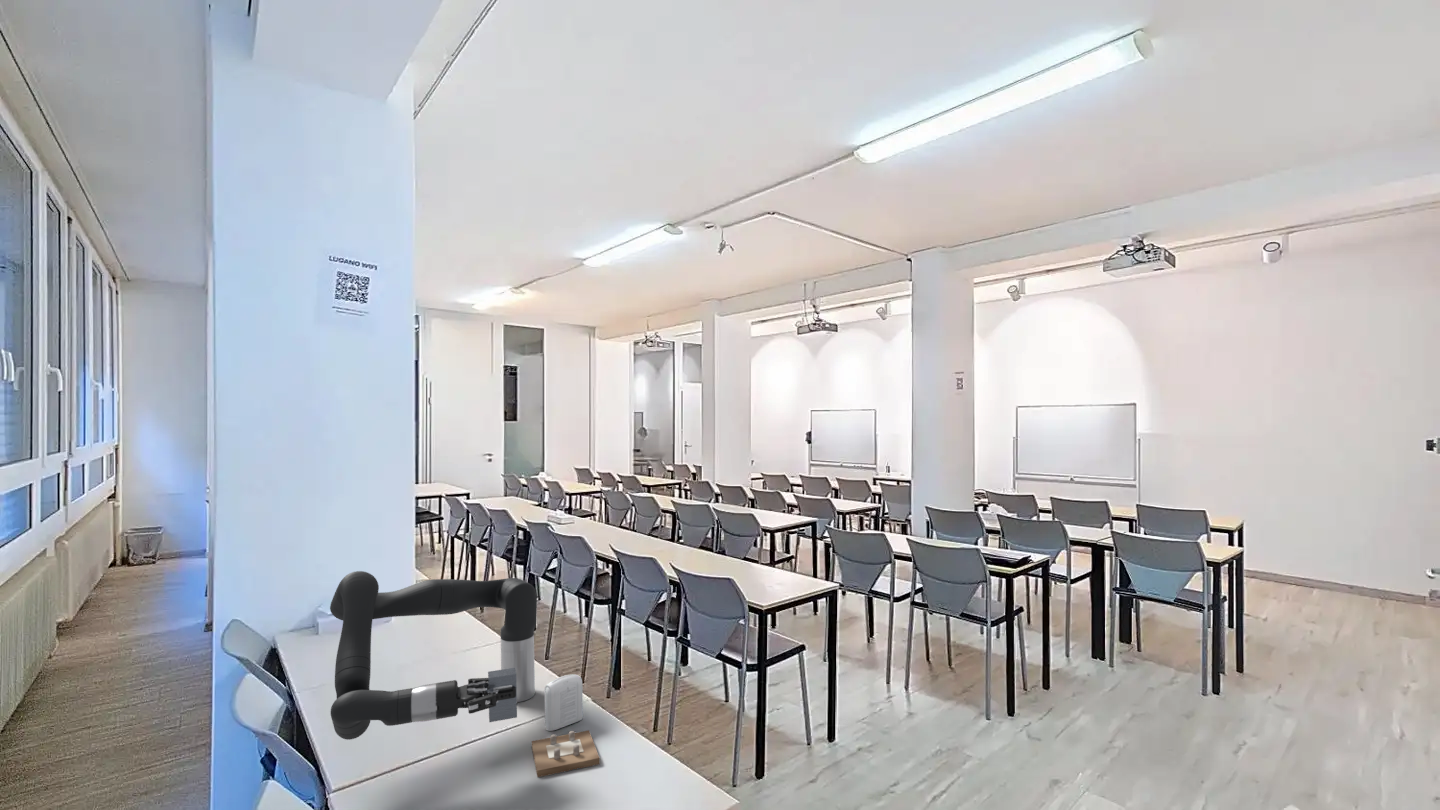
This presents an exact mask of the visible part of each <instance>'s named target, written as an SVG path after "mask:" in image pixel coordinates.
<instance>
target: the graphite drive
mask: <svg viewBox="0 0 1440 810" xmlns="http://www.w3.org/2000/svg"><path fill="white" fill-rule="evenodd" d="M487 678H488V690H498V692H499V689H506V688H512V687H515V688H516V697H515V698H510V699H504V700H499V702H497V703H496V706H494V707H491V708H488V719H489V720H488V722H489V723H494V722H498V721H499V722H500V721H505V720H510V719H516V718H518V704H517V703H518V702H517V687H516V670H515V668H509V669H502V670H501V669H497V670H491V671H488V672H487Z"/></svg>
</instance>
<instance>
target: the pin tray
mask: <svg viewBox="0 0 1440 810" xmlns="http://www.w3.org/2000/svg"><path fill="white" fill-rule="evenodd" d="M531 750H532V755H533V761H534V766H535V772H536V777H537V778H541V777H545V776H550V775H555V773H556V774H560V772H561V773H564V771H565V772H569V770H570V771H574V770H573V769H575V770H578V769H577V768H580V769H583V768H588V766H589V767H594V766H598V765H600V760H601V759H600V756H599V753H598V751H597V748H596V745H595V742H594V739H593V738H592V735H591V731H590V730H589V729H587V730H584V731H583V730H582V731H579V732H575V731H574V730H570V731H568V733H567V734H562V735H557V734H551V735H550V736H549V737H545V738H540V739H535V740H531ZM593 765H594V766H593Z"/></svg>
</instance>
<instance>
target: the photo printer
mask: <svg viewBox="0 0 1440 810" xmlns="http://www.w3.org/2000/svg"><path fill="white" fill-rule="evenodd" d="M583 703H584V702H583V680H582V677H581V676H580V675H578V674H575V673H574V674H572V673H571V674H565V675H562V676H559V677H557V678H555V679H553V680H552V681H550V682H548V683H547V684H546V685H545V687H544V727H545V730H546V731H548V732H553V731H555V730H559V729H562V728H564V727H567V726H570V725H571V724H575V723H577V722H580V721H581V720H583V717H584V716H583V712H584V711H583Z"/></svg>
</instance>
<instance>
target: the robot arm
mask: <svg viewBox="0 0 1440 810" xmlns="http://www.w3.org/2000/svg"><path fill="white" fill-rule="evenodd" d="M379 586H380V585H379V582H378V580H377V578H376V577H375V576H374V575H373V574H371V573H369V572H367V571H362V570H357V571H352V572H349V573H348V574H346V575H345V576H344V577H343V578H342V579H341V580H340V582H339V583H338V584H337V588H336V590H335V592H334V594H333V597H332V600H331V602H330V606H329V610H330V613H331V614H332V616H333V617H334V618H336V619H338V620H341V621H342V628H341V633H340V637H339V641H338V647H337V651H336V659H335V667H334V668H335V669H334V689H335V693H336V699H335V700H334V702H333V703H332V704H331V708H330V718H331V720H332V725H333V729H334V732H335V734H336V735H337V736H338V737H340V738H341V739H344V740H347V741H348V740H354V739H355V740H356V739H357V738H359V737H360V736H362V735H363V734H364V733H365V732H366V731H367V730H368V728H369V726H370V723H371V721H380V722H382V723H383V724H384V725H385V726H389V727H391V726H393V727H394V726H399V725H405V724H411V723H419V722H420V723H421V722H429V721H435V720H440V719H446V718H452V717H456V716H457V715H458V714H459V709H468V714H471V715H472V714H475V713H478V712H480V711H481V712H482V711H483V710H484V711H485V710H487V709H488V710H489V708H491V707H494V706H496V703H497V702H499V700H504V699H510V698H515V697H516V688H515V687H512V688H506V689H499V692H498V690H488V677H477V678H476V677H475V678H468V680H467V682H468V683H467V684H463V685H461V686H459V685H458V680H456V679H454V680H448V681H442V682H440V681H439V682H436V683H434V682H433V683H427V684H423V685H419V686H416V687H415V686H414V687H413V688H412V687H411V688H410V687H409V688H405V689H403V688H402V689H397V690H392V691H390V690H389V691H387V690H377V689H370V682H371V670H372V669H371V665H372V663H371V662H372V660H371V659H372V657H371V654H372V653H371V652H372V648H371V647H372V628H373V627H372V626H373V620H377V619H385V618H395V617H412V616H443V615H444V616H447V615H453V614H454V615H455V614H459V613H462V612H466V611H468V610H473V609H476V608H477V609H478V608H494V609H503V610H505V622H504V623H505V624H504V625H502V626H501V628H500V670H502V669H509V668H515V670H516V687H517V703H518V702H519V703H520V702H525V701H527V700H529V699H531V698H533V697H534V695H536V694H535V693H536V691H535V690H536V685H535V684H536V683H535V682H536V681H535V680H536V679H535V677H536V676H535V672H536V671H535V669H536V668H535V627H536V626H537V625H536V624H537V615H538V614H537V613H538V609H537V608H538V596H537V592H536V588H535V587H534V585H532V584H531V583H529V582H528V581H525V580H523V579H521V578H518V577H508V578H501V579H492V580H471V579H451V578H447V579H446V578H445V579H443V578H441V579H440V578H439V579H438V578H437V579H435V578H434V579H428V580H423V581H420V582H418V583H414V584H411V585H409V586H407V587H406V586H405V587H404V588H403V587H402V588H401V589H398V590H394V591H387V592H386V591H385V592H379V591H380V590H379V588H380V587H379Z"/></svg>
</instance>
